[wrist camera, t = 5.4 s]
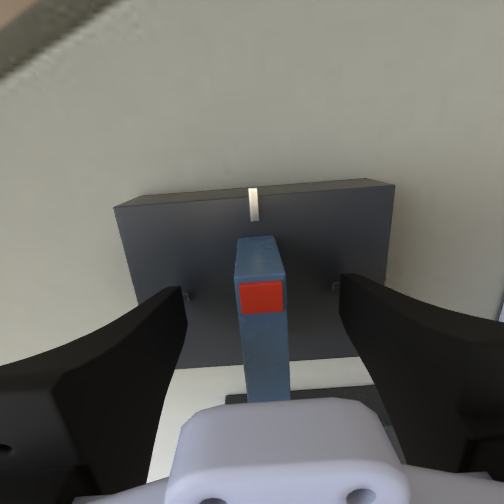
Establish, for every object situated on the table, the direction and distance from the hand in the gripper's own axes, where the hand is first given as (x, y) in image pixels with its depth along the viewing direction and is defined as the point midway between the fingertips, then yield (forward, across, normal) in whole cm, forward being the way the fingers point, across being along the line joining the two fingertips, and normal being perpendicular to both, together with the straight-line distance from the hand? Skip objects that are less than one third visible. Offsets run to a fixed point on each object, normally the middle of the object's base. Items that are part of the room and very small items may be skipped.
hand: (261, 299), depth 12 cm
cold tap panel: (+4, 0, 0) cm, 4 cm away
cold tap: (+1, 0, 0) cm, 1 cm away
